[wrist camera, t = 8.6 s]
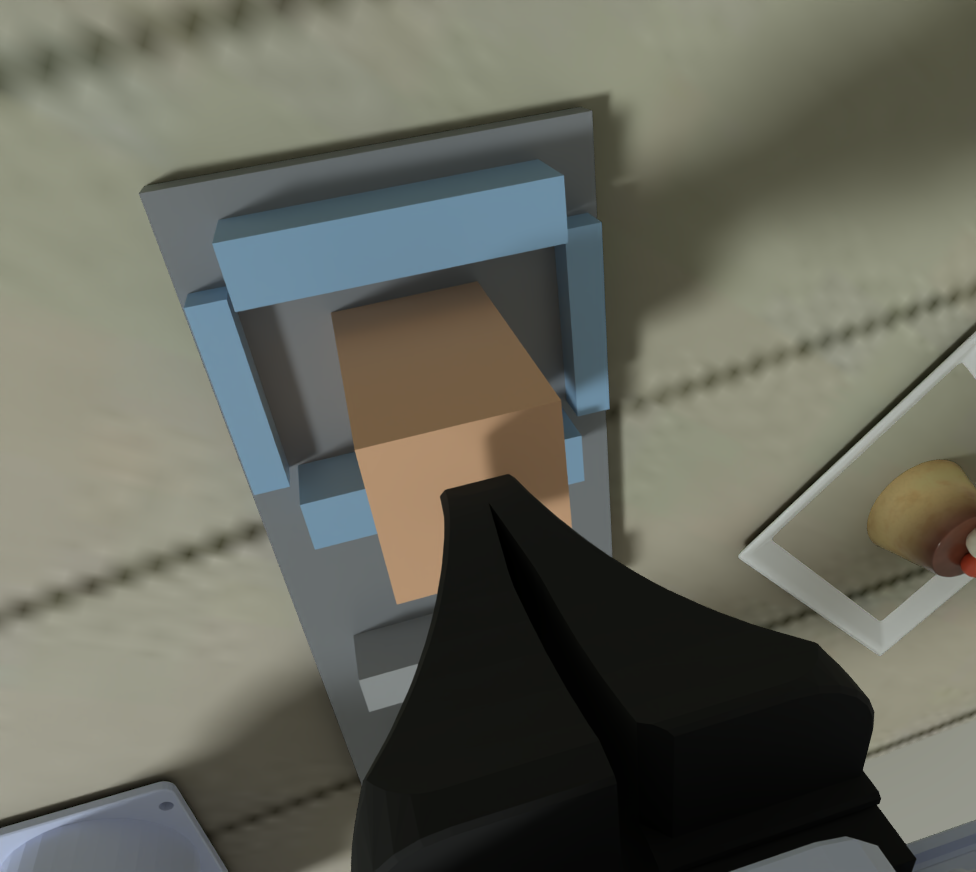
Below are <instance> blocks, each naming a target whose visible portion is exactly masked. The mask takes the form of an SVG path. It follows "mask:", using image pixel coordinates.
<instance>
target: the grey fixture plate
mask: <svg viewBox="0 0 976 872" xmlns="http://www.w3.org/2000/svg"><path fill="white" fill-rule="evenodd" d="M139 195H140V198H141V200H142V203H143V205H144V208H145V211H146V213H147V216H148V219H149V221H150V224H151V227H152V229H153V232H154V235H155V237H156V240H157V243H158V245H159V248H160V251H161V253H162V256H163V259H164V261H165V264H166V267H167V269H168V272H169V275H170V277H171V280H172V282H173V285H174V288H175V290H176V293H177V296H178V298H179V301H180V304H181V306H182V309H183V312H184V314H185V317H186V320H187V322H188V325H189V328H190V330H191V333H192V336H193V338H194V341H195V344H196V346H197V349H198V352H199V354H200V357H201V360H202V362H203V365H204V367H205V370H206V373H207V375H208V378H209V381H210V383H211V386H212V389H213V391H214V394H215V397H216V399H217V402H218V405H219V407H220V410H221V413H222V415H223V418H224V421H225V423H226V426H227V429H228V431H229V434H230V437H231V439H232V442H233V445H234V447H235V450H236V452H237V455H238V458H239V460H240V463H241V466H242V468H243V471H244V474H245V476H246V479H247V482H248V484H249V487H250V490H251V492H252V495H253V498H254V500H255V503H256V506H257V508H258V511H259V514H260V516H261V519H262V522H263V524H264V527H265V529H266V532H267V535H268V537H269V540H270V543H271V545H272V548H273V551H274V553H275V556H276V559H277V561H278V564H279V567H280V569H281V572H282V575H283V577H284V580H285V583H286V585H287V588H288V591H289V593H290V596H291V599H292V601H293V604H294V607H295V609H296V612H297V614H298V617H299V620H300V622H301V625H302V628H303V630H304V633H305V636H306V638H307V641H308V644H309V646H310V649H311V652H312V654H313V657H314V660H315V662H316V665H317V668H318V670H319V673H320V676H321V678H322V681H323V684H324V686H325V689H326V691H327V694H328V697H329V699H330V702H331V705H332V707H333V710H334V713H335V715H336V718H337V721H338V723H339V726H340V729H341V731H342V734H343V737H344V739H345V742H346V745H347V747H348V750H349V753H350V755H351V758H352V761H353V763H354V766H355V769H356V771H357V774H358V776H359V779H360V782H361V784H362V783H363V780H364V778H365V776H366V774H367V773H368V771H369V769H370V767H371V765H372V764H373V762H374V760H375V758H376V756H377V754H378V753H379V751H380V749H381V747H382V745H383V744H384V742H385V740H386V738H387V736H388V734H389V732H390V730H391V728H392V726H393V724H394V721H395V719H396V717H397V715H398V712H399V710H400V708H401V706H402V703H403V701H404V699H405V697H406V694H407V692H408V690H409V688H410V685H411V682H412V680H413V677H414V675H415V672H416V669H417V666H418V663H419V660H420V657H421V654H422V651H423V648H424V645H425V642H426V638H427V635H428V631H429V628H430V624H431V620H432V616H433V612H434V607H435V603H436V597H437V594H434V595H430V596H427V597H423V598H419V599H416V600H412V601H408V602H405V603H401V604H397V603H396V600H395V596H394V592H393V589H392V585H391V582H390V578H389V574H388V571H387V567H386V563H385V560H384V556H383V552H382V549H381V545H380V541H379V538H378V534H377V530H376V527H375V523H374V519H373V516H372V512H371V508H370V505H369V501H368V497H367V494H366V490H365V486H364V483H363V479H362V475H361V472H360V468H359V464H358V461H357V457H356V453H355V449H354V444H353V438H352V432H351V426H350V421H349V415H348V409H347V403H346V398H345V392H344V386H343V380H342V375H341V369H340V363H339V357H338V352H337V346H336V340H335V334H334V329H333V323H332V317H331V312H336V311H341V310H345V309H350V308H355V307H359V306H364V305H369V304H373V303H378V302H383V301H387V300H392V299H397V298H401V297H406V296H411V295H415V294H420V293H425V292H429V291H434V290H439V289H443V288H448V287H453V286H457V285H462V284H467V283H471V282H476V281H478V283H479V284H480V286H481V287H482V289H483V290H484V291H485V293H486V294H487V296H488V297H489V298H490V300H491V301H492V303H493V304H494V306H495V307H496V308H497V310H498V311H499V313H500V314H501V316H502V317H503V318H504V320H505V321H506V323H507V324H508V325H509V327H510V328H511V330H512V331H513V333H514V334H515V335H516V337H517V338H518V340H519V341H520V343H521V344H522V345H523V347H524V348H525V350H526V351H527V352H528V354H529V355H530V357H531V358H532V360H533V361H534V362H535V364H536V365H537V367H538V368H539V370H540V371H541V372H542V374H543V375H544V377H545V378H546V380H547V381H548V382H549V384H550V385H551V387H552V388H553V389H554V391H555V392H556V394H557V395H558V397H559V398H560V399H561V404H562V416H563V428H564V439H565V451H566V463H567V475H568V486H569V498H570V510H571V522H572V529H573V530H575V531H576V532H577V533H578V534H580V535H581V536H582V537H584V538H585V539H586V540H588V541H589V542H590V543H592V544H593V545H595V546H596V547H597V548H599V549H600V550H602V551H603V552H605V553H606V554H608V555H609V556H611V557H612V538H611V516H610V494H609V472H608V450H607V428H606V410H607V409H610V408H609V384H608V360H607V336H606V313H605V289H604V265H603V241H602V222H601V221H599V220H598V219H597V206H596V184H595V162H594V140H593V118H592V111H591V110H589V109H586V108H583V107H577V108H571V109H566V110H560V111H555V112H549V113H544V114H538V115H533V116H527V117H522V118H516V119H511V120H505V121H500V122H494V123H489V124H483V125H478V126H472V127H467V128H461V129H456V130H450V131H445V132H439V133H434V134H428V135H423V136H417V137H412V138H406V139H401V140H395V141H390V142H384V143H379V144H373V145H367V146H362V147H356V148H351V149H345V150H340V151H334V152H329V153H323V154H318V155H312V156H307V157H301V158H296V159H290V160H285V161H279V162H274V163H268V164H263V165H257V166H252V167H246V168H241V169H235V170H230V171H224V172H219V173H213V174H208V175H202V176H197V177H191V178H186V179H180V180H175V181H169V182H164V183H158V184H153V185H147V186H144V187H143V189H142V190H141V191H140V193H139Z"/></svg>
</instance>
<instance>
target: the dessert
mask: <svg viewBox="0 0 976 872" xmlns="http://www.w3.org/2000/svg"><path fill="white" fill-rule="evenodd" d="M960 363H963V364H964V365H965V366H966V367H967V369H968V370H969V371H970V373H971V374H972V375H973V376H974V378H975V379H976V331H975V332H974V333H973V334H972V335H971V336H970V337H969V338H968V339H967V340H966V341H965V342H964V343H962V344H961V345H960V346H959V347H958V348H957V349H956V350H955V351H954V352H953V353H952V354H951V355H950V356H949V357H948V358H947V359H945V360H944V361H943V362H942V363H941V364H940V365H939V366H938V367H937V368H936V369H935V370H934V371H933V372H932V373H931V374H930V375H928V376H927V377H926V378H925V379H924V380H923V381H922V382H921V383H920V384H919V385H918V386H917V387H916V388H915V389H914V390H912V391H911V392H910V393H909V394H908V395H907V396H906V397H905V398H904V399H903V400H902V401H901V402H900V403H899V404H898V405H897V406H895V407H894V408H893V409H892V410H891V411H890V412H889V413H888V414H887V415H886V416H885V417H884V418H883V419H882V420H881V421H880V422H878V423H877V424H876V425H875V426H874V427H873V428H872V429H871V430H870V431H869V432H868V433H867V434H866V435H865V436H864V437H862V438H861V439H860V440H859V441H858V442H857V443H856V444H855V445H854V446H853V447H852V448H851V449H850V450H849V451H848V452H847V453H845V454H844V455H843V456H842V457H841V458H840V459H839V460H838V461H837V462H836V463H835V464H834V465H833V466H832V467H831V468H830V469H828V470H827V471H826V472H825V473H824V474H823V475H822V476H821V477H820V478H819V479H818V480H817V481H816V482H815V483H814V484H812V485H811V486H810V487H809V488H808V489H807V490H806V491H805V492H804V493H803V494H802V495H801V496H800V497H799V498H798V499H797V500H795V501H794V502H793V503H792V504H791V505H790V506H789V507H788V508H787V509H786V510H785V511H784V512H783V513H782V514H781V515H780V516H778V517H777V518H776V519H775V520H774V521H773V522H772V523H771V524H770V525H769V526H768V527H767V528H766V529H765V530H764V531H762V532H761V533H760V534H759V535H758V536H757V537H756V538H755V539H754V540H753V541H752V542H751V543H750V544H749V545H748V546H747V547H745V548H744V549H743V550H742V551H741V552H740V554H739V556H738V557H739V559H740V560H742V561H743V562H745V563H746V564H748V565H749V566H750V567H752V568H753V569H755V570H756V571H758V572H759V573H761V574H762V575H763V576H765V577H766V578H768V579H769V580H771V581H772V582H773V583H775V584H776V585H778V586H779V587H781V588H782V589H783V590H785V591H786V592H788V593H789V594H791V595H792V596H794V597H795V598H796V599H798V600H799V601H801V602H802V603H804V604H805V605H806V606H808V607H809V608H811V609H812V610H814V611H815V612H817V613H818V614H819V615H821V616H822V617H824V618H825V619H827V620H828V621H829V622H831V623H832V624H834V625H835V626H837V627H838V628H839V629H841V630H842V631H844V632H845V633H847V634H848V635H850V636H851V637H852V638H854V639H855V640H857V641H858V642H860V643H861V644H862V645H864V646H865V647H867V648H868V649H870V650H871V651H873V652H874V653H875V654H877V655H878V656H881V655H882V654H884V653H885V652H886V651H887V650H888V649H890V648H891V647H892V646H893V645H894V644H896V643H897V642H898V641H899V640H900V639H902V638H903V637H904V636H905V635H906V634H908V633H909V632H910V631H911V630H912V629H914V628H915V627H916V626H917V625H918V624H920V623H921V622H922V621H923V620H924V619H925V618H927V617H928V616H929V615H930V614H931V613H933V612H934V611H935V610H936V609H937V608H939V607H940V606H941V605H942V604H943V603H945V602H946V601H947V600H948V599H949V598H951V597H952V596H953V595H954V594H955V593H957V592H958V591H959V590H960V589H961V588H963V587H964V586H965V585H966V584H967V583H969V582H970V581H971V580H972V579H973V578H976V488H975V487H974V485H973V484H972V483H971V481H970V480H969V479H968V477H967V476H966V474H965V473H964V472H963V470H962V469H961V467H960V466H959V465H957V464H956V463H954V462H952V461H948V460H932V461H928V462H924V463H921V464H919V465H917V466H914V467H912V468H910V469H909V470H907V471H905V472H904V473H902V474H901V475H900V476H898V477H897V478H896V479H894V480H893V481H892V482H891V483H890V484H889V485H888V486H887V487H886V488H885V489H884V490H883V492H882V493H881V494H880V495H879V497H878V498H877V500H876V501H875V503H874V505H873V507H872V509H871V511H870V514H869V517H868V522H867V531H868V535H869V537H870V539H871V541H872V542H873V543H874V544H876V545H877V546H879V547H881V548H883V549H886V550H888V551H890V552H892V553H894V554H896V555H898V556H900V557H902V558H904V559H906V560H908V561H910V562H912V563H914V564H916V565H918V566H920V567H922V568H924V569H926V570H929V571H931V572H933V573H935V574H936V575H935V576H934V577H933V578H931V579H930V580H929V581H928V582H927V583H926V584H924V585H923V586H922V587H921V588H920V589H919V590H917V591H916V592H915V593H914V594H913V595H912V596H910V597H909V598H908V599H907V600H906V601H905V602H903V603H902V604H901V605H900V606H899V607H898V608H896V609H895V610H894V611H893V612H892V613H891V614H889V615H888V616H887V617H886V618H885V619H883V620H881V621H879V620H877V619H876V618H875V617H873V616H872V615H871V614H869V613H868V612H867V611H865V610H864V609H863V608H861V607H860V606H859V605H858V604H856V603H855V602H854V601H852V600H851V599H850V598H848V597H847V596H846V595H844V594H843V593H842V592H840V591H839V590H838V589H836V588H835V587H834V586H832V585H831V584H830V583H828V582H827V581H826V580H824V579H823V578H822V577H820V576H819V575H818V574H816V573H815V572H814V571H812V570H811V569H810V568H808V567H807V566H806V565H804V564H803V563H802V562H800V561H799V560H798V559H796V558H795V557H794V556H793V555H791V554H790V553H789V552H787V551H786V550H785V549H783V548H782V547H781V546H779V545H778V544H777V543H775V542H774V541H773V539H772V538H773V537H774V535H775V534H776V533H777V532H778V531H780V530H781V529H782V528H783V527H784V526H785V525H786V524H787V523H788V522H789V521H790V520H791V519H792V518H793V517H795V516H796V515H797V514H798V513H799V512H800V511H801V510H802V509H803V508H804V507H805V506H806V505H807V504H808V503H810V502H811V501H812V500H813V499H814V498H815V497H816V496H817V495H818V494H819V493H820V492H821V491H822V490H824V489H825V488H826V487H827V486H828V485H829V484H830V483H831V482H832V481H833V480H834V479H835V478H836V477H837V476H839V475H840V474H841V473H842V472H843V471H844V470H845V469H846V468H847V467H848V466H849V465H850V464H851V463H852V462H854V461H855V460H856V459H857V458H858V457H859V456H860V455H861V454H862V453H863V452H864V451H865V450H866V449H867V448H869V447H870V446H871V445H872V444H873V443H874V442H875V441H876V440H877V439H878V438H879V437H880V436H881V435H882V434H884V433H885V432H886V431H887V430H888V429H889V428H890V427H891V426H892V425H893V424H894V423H895V422H896V421H897V420H899V419H900V418H901V417H902V416H903V415H904V414H905V413H906V412H907V411H908V410H909V409H910V408H911V407H913V406H914V405H915V404H916V403H917V402H918V401H919V400H920V399H921V398H922V397H923V396H924V395H925V394H926V393H928V392H929V391H930V390H931V389H932V388H933V387H934V386H935V385H936V384H937V383H938V382H939V381H940V380H941V379H943V378H944V377H945V376H946V375H947V374H948V373H949V372H950V371H951V370H952V369H953V368H954V367H955V366H956V365H958V364H960Z"/></svg>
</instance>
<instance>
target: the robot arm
mask: <svg viewBox="0 0 976 872" xmlns="http://www.w3.org/2000/svg"><path fill="white" fill-rule="evenodd" d="M440 500H441V505H442V510H443V515H444V545H443V557H442V567H441V574H440V580H439V586H438V592H437V597H436V603H435V607H434V612H433V616H432V620H431V624H430V628H429V631H428V635H427V638H426V642H425V645H424V648H423V651H422V654H421V657H420V660H419V663H418V666H417V669H416V672H415V675H414V677H413V680H412V682H411V685H410V688H409V690H408V692H407V694H406V697H405V699H404V701H403V703H402V706H401V708H400V710H399V712H398V715H397V717H396V719H395V721H394V724H393V726H392V728H391V730H390V732H389V734H388V736H387V738H386V740H385V742H384V744H383V745H382V747H381V749H380V751H379V753H378V754H377V756H376V758H375V760H374V762H373V764H372V765H371V767H370V769H369V771H368V773H367V774H366V776H365V778H364V780H363V783H362V787H361V792H360V798H359V803H358V808H357V814H356V820H355V826H354V833H353V843H352V857H351V872H976V820H974V821H971V822H968V823H965V824H962V825H959V826H957V827H954V828H951V829H948V830H945V831H942V832H940V833H937V834H934V835H931V836H928V837H926V838H923V839H920V840H917V841H914V842H911V843H908V844H905V843H904V841H903V840H902V839H901V837H900V836H899V834H898V833H897V832H896V830H895V829H894V828H893V826H892V825H891V824H890V822H889V821H888V820H887V818H886V817H885V816H884V814H883V813H882V812H881V810H880V809H879V808H878V806H877V804H879V803H880V800H881V797H880V795H879V791H878V790H877V789H876V787H875V786H874V785H873V783H872V782H871V781H870V779H869V778H868V777H867V775H866V774H865V773H864V772H863V767H864V763H865V759H866V755H867V751H868V747H869V743H870V739H871V735H872V731H873V724H874V710H873V707H872V705H871V703H870V700H869V698H868V697H867V696H866V695H865V694H864V692H863V691H862V690H861V689H860V688H859V687H858V685H857V684H856V683H855V682H854V681H853V679H852V678H851V677H850V676H849V675H848V674H847V673H846V672H845V671H844V669H843V668H842V667H841V666H840V665H839V664H838V663H837V662H836V661H835V660H834V659H832V658H831V657H830V656H829V655H828V654H827V653H826V652H825V651H824V650H823V649H822V648H821V647H820V646H819V645H818V644H817V643H815V642H811V641H808V640H804V639H801V638H797V637H794V636H790V635H787V634H783V633H780V632H776V631H773V630H769V629H766V628H762V627H759V626H756V625H753V624H750V623H747V622H745V621H742V620H739V619H736V618H733V617H731V616H728V615H725V614H722V613H720V612H717V611H715V610H712V609H710V608H707V607H705V606H703V605H700V604H698V603H696V602H694V601H692V600H689V599H687V598H685V597H683V596H680V595H678V594H676V593H674V592H672V591H669V590H667V589H665V588H663V587H661V586H660V585H658V584H656V583H654V582H652V581H650V580H648V579H647V578H645V577H643V576H641V575H640V574H638V573H636V572H634V571H633V570H631V569H629V568H628V567H626V566H625V565H623V564H621V563H620V562H618V561H617V560H615V559H614V558H612V557H611V556H609V555H608V554H606V553H605V552H603V551H602V550H600V549H599V548H597V547H596V546H595V545H593V544H592V543H590V542H589V541H588V540H586V539H585V538H584V537H582V536H581V535H580V534H578V533H577V532H576V531H575V530H573V529H572V528H571V527H570V526H568V525H567V524H566V523H564V522H563V521H562V520H561V519H559V518H558V517H557V516H556V515H555V514H553V513H552V512H551V511H550V510H549V509H548V508H547V507H545V506H544V505H543V504H542V503H541V502H540V501H539V500H538V499H536V498H535V497H534V496H533V495H532V494H531V493H530V492H529V491H528V490H527V489H526V488H525V487H524V486H523V485H522V484H521V483H520V482H519V481H518V480H517V479H516V478H515V477H513V476H511V475H510V474H506V475H502V476H498V477H494V478H490V479H486V480H482V481H478V482H474V483H470V484H466V485H462V486H458V487H454V488H450V489H446V490H444V491H443V493H442V494H441V495H440ZM0 872H228V870H227V868H226V867H225V865H224V863H223V862H222V860H221V859H220V857H219V855H218V854H217V852H216V850H215V849H214V847H213V846H212V844H211V842H210V841H209V839H208V837H207V836H206V834H205V833H204V831H203V829H202V828H201V826H200V824H199V823H198V821H197V819H196V818H195V816H194V815H193V813H192V811H191V810H190V808H189V806H188V805H187V803H186V802H185V800H184V798H183V797H182V795H181V793H180V792H179V790H178V788H177V787H176V786H175V785H174V784H173V783H171V782H167V781H162V782H157V783H153V784H150V785H147V786H143V787H140V788H136V789H133V790H129V791H126V792H123V793H119V794H116V795H112V796H109V797H105V798H102V799H99V800H95V801H92V802H88V803H85V804H81V805H78V806H75V807H71V808H68V809H64V810H61V811H57V812H54V813H51V814H47V815H44V816H40V817H37V818H33V819H30V820H27V821H23V822H20V823H16V824H13V825H9V826H6V827H2V828H0Z"/></svg>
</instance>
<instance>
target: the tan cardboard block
mask: <svg viewBox="0 0 976 872" xmlns="http://www.w3.org/2000/svg"><path fill="white" fill-rule="evenodd" d="M331 317H332V323H333V329H334V334H335V340H336V346H337V352H338V357H339V363H340V369H341V375H342V380H343V386H344V392H345V398H346V403H347V409H348V415H349V421H350V426H351V432H352V438H353V444H354V449H355V453H356V457H357V461H358V464H359V468H360V472H361V475H362V479H363V483H364V486H365V490H366V494H367V497H368V501H369V505H370V508H371V512H372V516H373V519H374V523H375V527H376V530H377V534H378V538H379V541H380V545H381V549H382V552H383V556H384V560H385V563H386V567H387V571H388V574H389V578H390V582H391V585H392V589H393V592H394V596H395V600H396V603H397V604H401V603H405V602H408V601H412V600H416V599H419V598H423V597H427V596H430V595H434V594H437V592H438V586H439V580H440V574H441V567H442V557H443V545H444V515H443V510H442V505H441V500H440V495H441V494H442V493H443V491H444V490H446V489H450V488H454V487H458V486H462V485H466V484H470V483H474V482H478V481H482V480H486V479H490V478H494V477H498V476H502V475H506V474H510V475H511V476H513V477H515V478H516V479H517V480H518V481H519V482H520V483H521V484H522V485H523V486H524V487H525V488H526V489H527V490H528V491H529V492H530V493H531V494H532V495H533V496H534V497H535V498H536V499H538V500H539V501H540V502H541V503H542V504H543V505H544V506H545V507H547V508H548V509H549V510H550V511H551V512H552V513H553V514H555V515H556V516H557V517H558V518H559V519H561V520H562V521H563V522H564V523H566V524H567V525H568V526H570V527H571V528H572V522H571V510H570V498H569V486H568V475H567V463H566V451H565V439H564V428H563V416H562V404H561V399H560V398H559V397H558V395H557V394H556V392H555V391H554V389H553V388H552V387H551V385H550V384H549V382H548V381H547V380H546V378H545V377H544V375H543V374H542V372H541V371H540V370H539V368H538V367H537V365H536V364H535V362H534V361H533V360H532V358H531V357H530V355H529V354H528V352H527V351H526V350H525V348H524V347H523V345H522V344H521V343H520V341H519V340H518V338H517V337H516V335H515V334H514V333H513V331H512V330H511V328H510V327H509V325H508V324H507V323H506V321H505V320H504V318H503V317H502V316H501V314H500V313H499V311H498V310H497V308H496V307H495V306H494V304H493V303H492V301H491V300H490V298H489V297H488V296H487V294H486V293H485V291H484V290H483V289H482V287H481V286H480V284H479V283H478V281H476V282H471V283H467V284H462V285H457V286H453V287H448V288H443V289H439V290H434V291H429V292H425V293H420V294H415V295H411V296H406V297H401V298H397V299H392V300H387V301H383V302H378V303H373V304H369V305H364V306H359V307H355V308H350V309H345V310H341V311H336V312H331Z"/></svg>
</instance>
